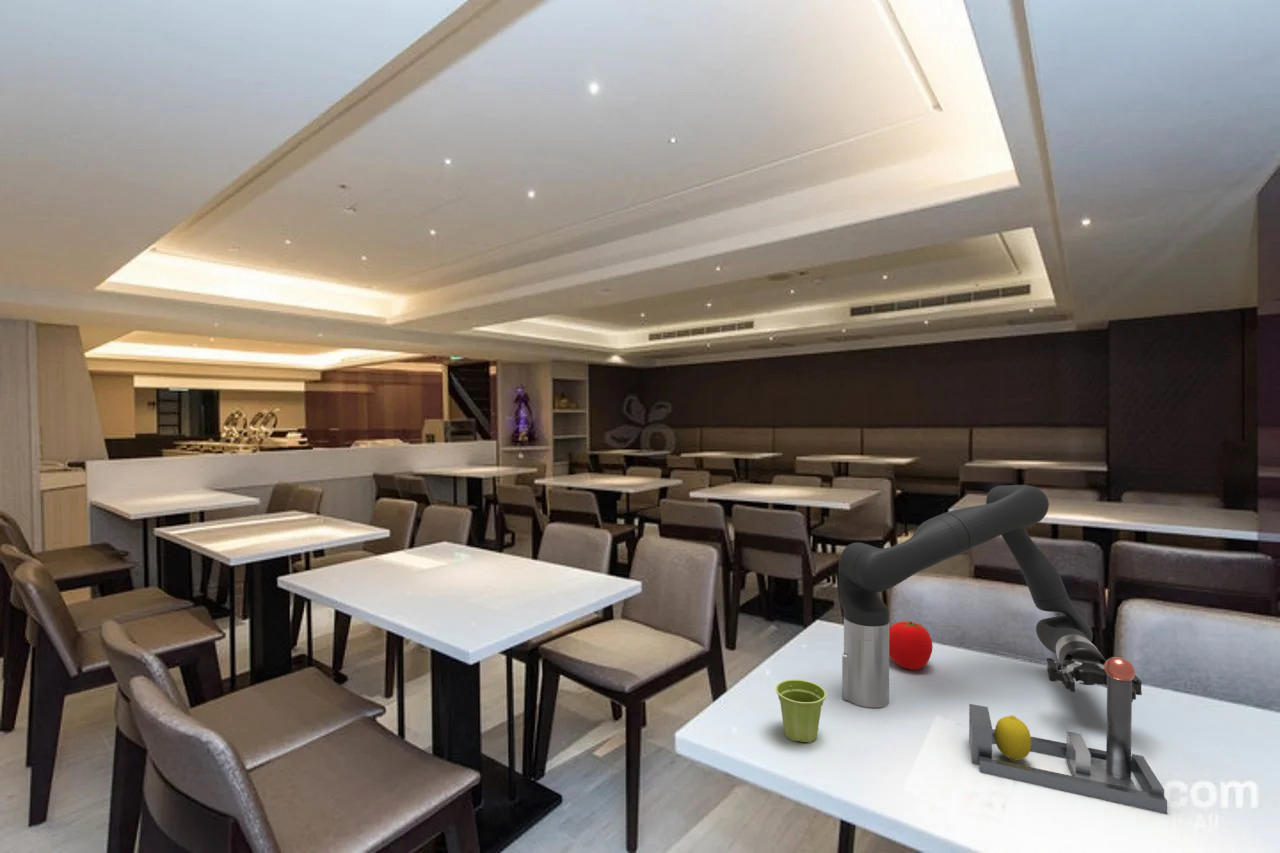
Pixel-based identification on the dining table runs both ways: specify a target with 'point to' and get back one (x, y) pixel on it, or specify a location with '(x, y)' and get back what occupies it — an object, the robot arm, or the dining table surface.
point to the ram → (1109, 732)
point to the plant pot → (800, 708)
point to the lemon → (1012, 738)
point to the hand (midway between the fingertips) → (1101, 691)
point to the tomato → (909, 645)
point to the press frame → (982, 755)
